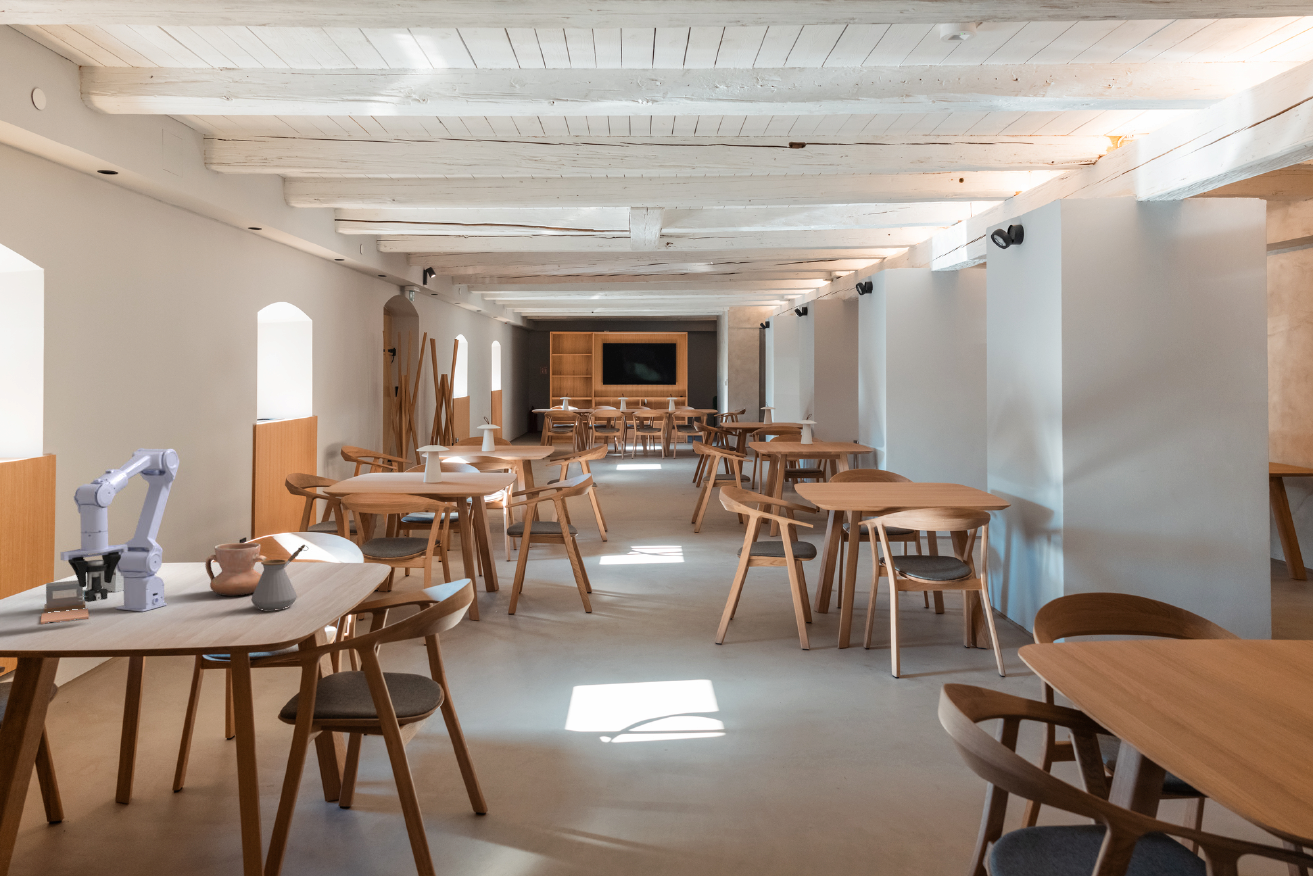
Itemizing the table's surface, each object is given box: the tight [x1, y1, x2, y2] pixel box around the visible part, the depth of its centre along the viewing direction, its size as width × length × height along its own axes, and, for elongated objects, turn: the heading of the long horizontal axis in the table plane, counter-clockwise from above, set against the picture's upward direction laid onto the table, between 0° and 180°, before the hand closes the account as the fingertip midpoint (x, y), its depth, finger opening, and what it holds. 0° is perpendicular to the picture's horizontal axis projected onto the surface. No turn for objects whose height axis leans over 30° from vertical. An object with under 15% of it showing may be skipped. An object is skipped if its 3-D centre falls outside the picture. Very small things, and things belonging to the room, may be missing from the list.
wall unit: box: [43, 579, 86, 613], centre depth 226 cm, size 6×9×7 cm, turn 125°
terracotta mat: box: [40, 607, 90, 625], centre depth 218 cm, size 10×10×1 cm
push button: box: [79, 559, 108, 603], centre depth 212 cm, size 7×5×10 cm
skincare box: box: [102, 552, 124, 593], centre depth 249 cm, size 6×4×12 cm
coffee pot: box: [250, 544, 309, 610], centre depth 235 cm, size 21×12×15 cm, turn 172°
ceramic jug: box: [204, 542, 267, 597], centre depth 247 cm, size 18×14×14 cm
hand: (95, 584), depth 213 cm, fingers closed on push button, 5 cm apart
